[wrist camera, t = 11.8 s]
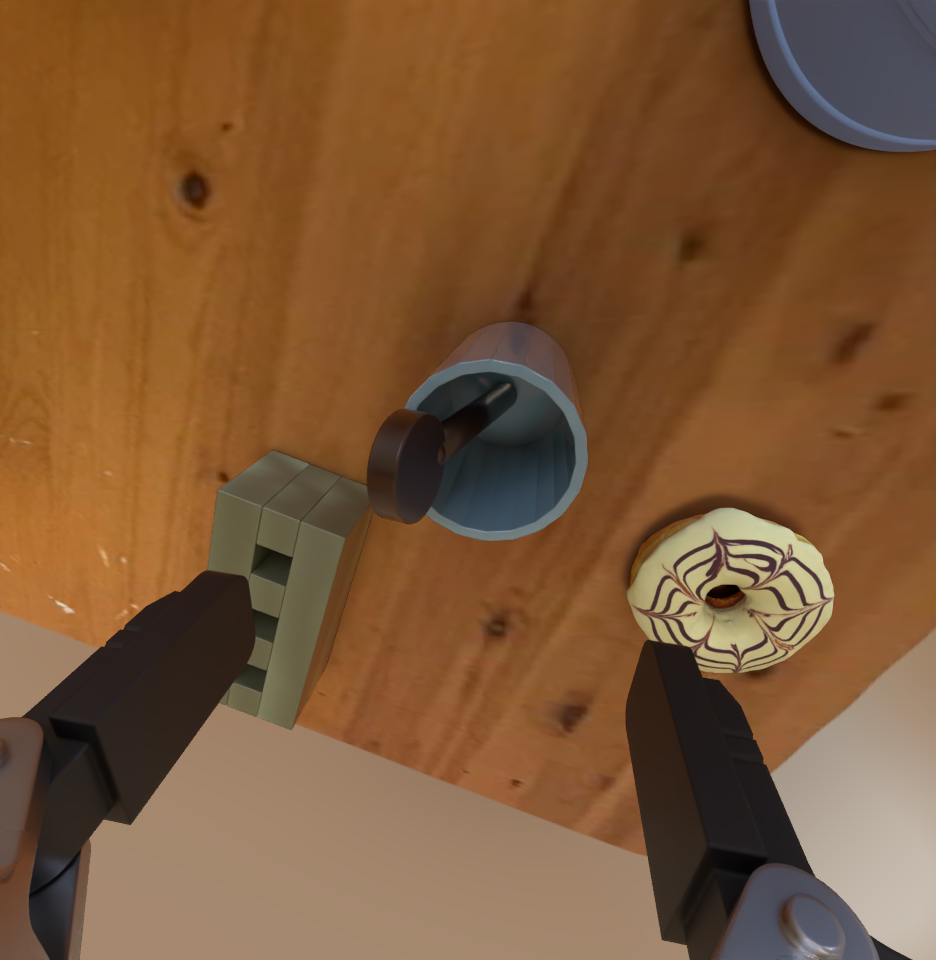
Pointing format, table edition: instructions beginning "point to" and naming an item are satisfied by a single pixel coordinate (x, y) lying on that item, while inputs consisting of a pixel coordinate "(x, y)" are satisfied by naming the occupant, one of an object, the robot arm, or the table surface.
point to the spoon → (424, 453)
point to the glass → (508, 434)
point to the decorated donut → (740, 617)
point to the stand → (288, 574)
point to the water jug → (855, 67)
